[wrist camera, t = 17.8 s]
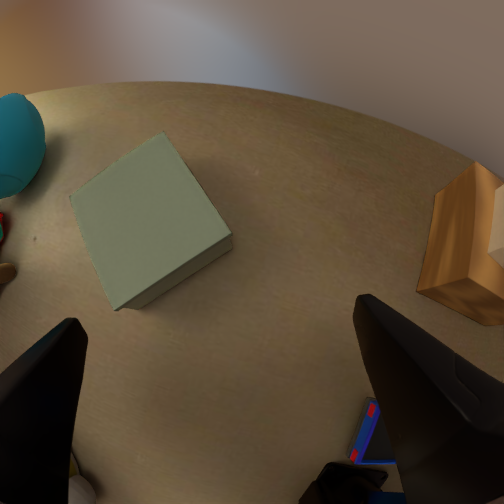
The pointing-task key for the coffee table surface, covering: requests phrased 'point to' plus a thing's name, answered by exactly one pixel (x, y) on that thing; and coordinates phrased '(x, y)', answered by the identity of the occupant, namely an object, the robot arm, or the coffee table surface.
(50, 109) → the coffee table surface
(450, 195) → the brown wooden block
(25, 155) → the teal helmet
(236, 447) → the coffee table surface
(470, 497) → the robot arm
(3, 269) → the cookie
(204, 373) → the coffee table surface
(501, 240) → the white box
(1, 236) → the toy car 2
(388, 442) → the toy car
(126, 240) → the storage box
